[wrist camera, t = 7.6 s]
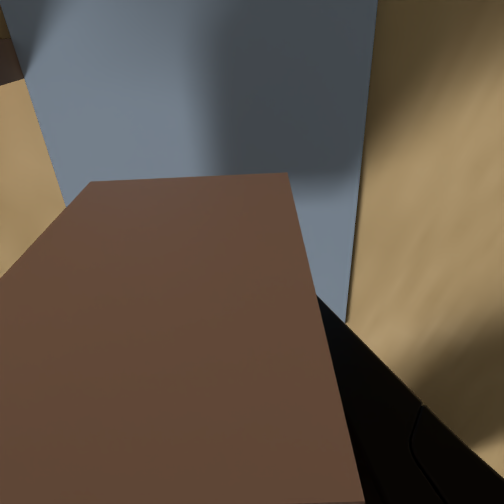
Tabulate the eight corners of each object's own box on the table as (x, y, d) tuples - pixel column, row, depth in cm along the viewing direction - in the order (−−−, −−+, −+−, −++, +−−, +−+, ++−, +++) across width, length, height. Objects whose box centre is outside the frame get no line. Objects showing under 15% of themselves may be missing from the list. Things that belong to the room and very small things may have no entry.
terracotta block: (287, 172, 9) (365, 502, 3) (287, 322, 11) (329, 674, 5) (90, 181, 9) (-224, 520, 3) (131, 328, 11) (0, 681, 5)
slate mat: (378, -49, 10) (383, -51, 10) (342, 327, 17) (343, 333, 17) (-2, -27, 10) (-11, -28, 10) (112, 335, 17) (110, 342, 17)
